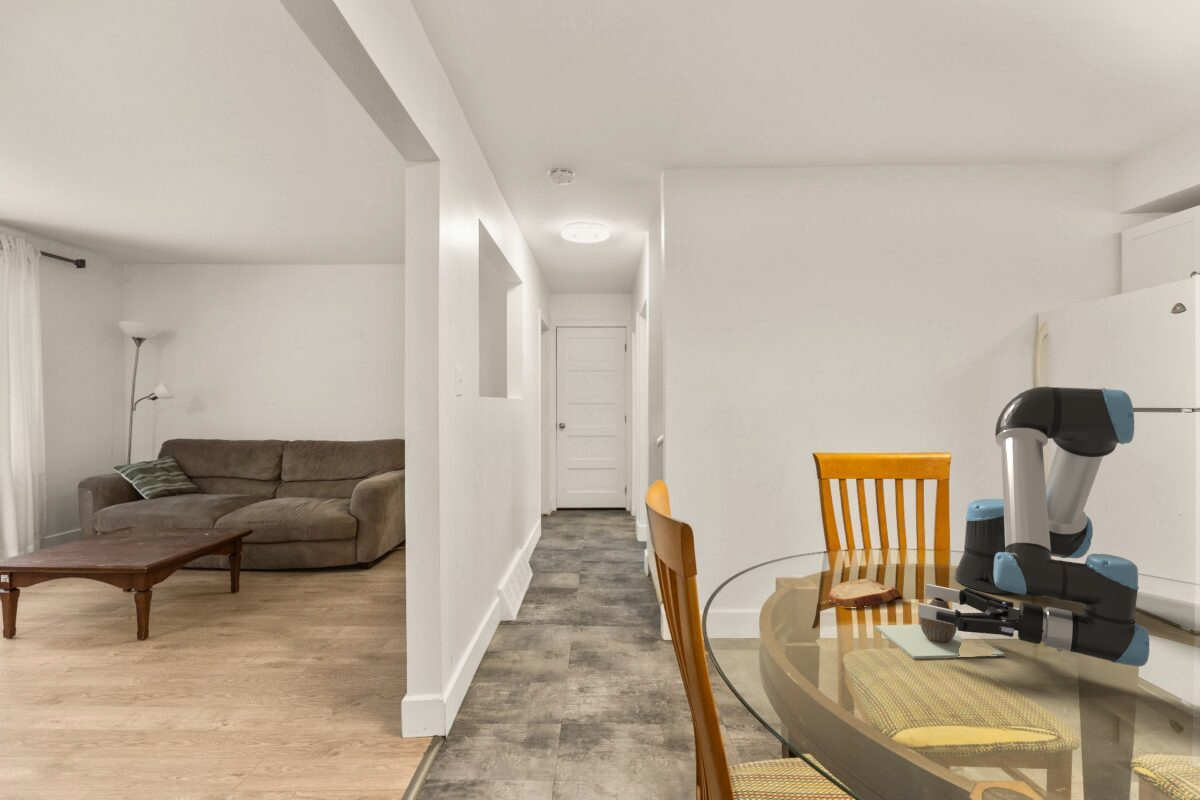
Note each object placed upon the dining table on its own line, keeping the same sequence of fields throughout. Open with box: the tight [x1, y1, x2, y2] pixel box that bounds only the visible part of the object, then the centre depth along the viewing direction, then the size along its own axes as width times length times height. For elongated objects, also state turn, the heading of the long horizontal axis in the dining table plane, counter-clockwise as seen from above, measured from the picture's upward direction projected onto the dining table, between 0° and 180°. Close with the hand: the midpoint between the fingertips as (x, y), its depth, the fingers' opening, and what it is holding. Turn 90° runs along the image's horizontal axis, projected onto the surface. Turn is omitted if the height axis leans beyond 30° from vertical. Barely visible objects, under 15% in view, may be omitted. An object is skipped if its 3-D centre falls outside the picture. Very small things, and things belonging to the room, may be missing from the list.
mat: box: [874, 624, 1006, 660], centre depth 130 cm, size 20×14×1 cm
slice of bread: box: [827, 578, 901, 608], centre depth 153 cm, size 18×18×4 cm
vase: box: [919, 597, 957, 643], centre depth 129 cm, size 7×7×9 cm
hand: (922, 599), depth 131 cm, fingers open, 13 cm apart
